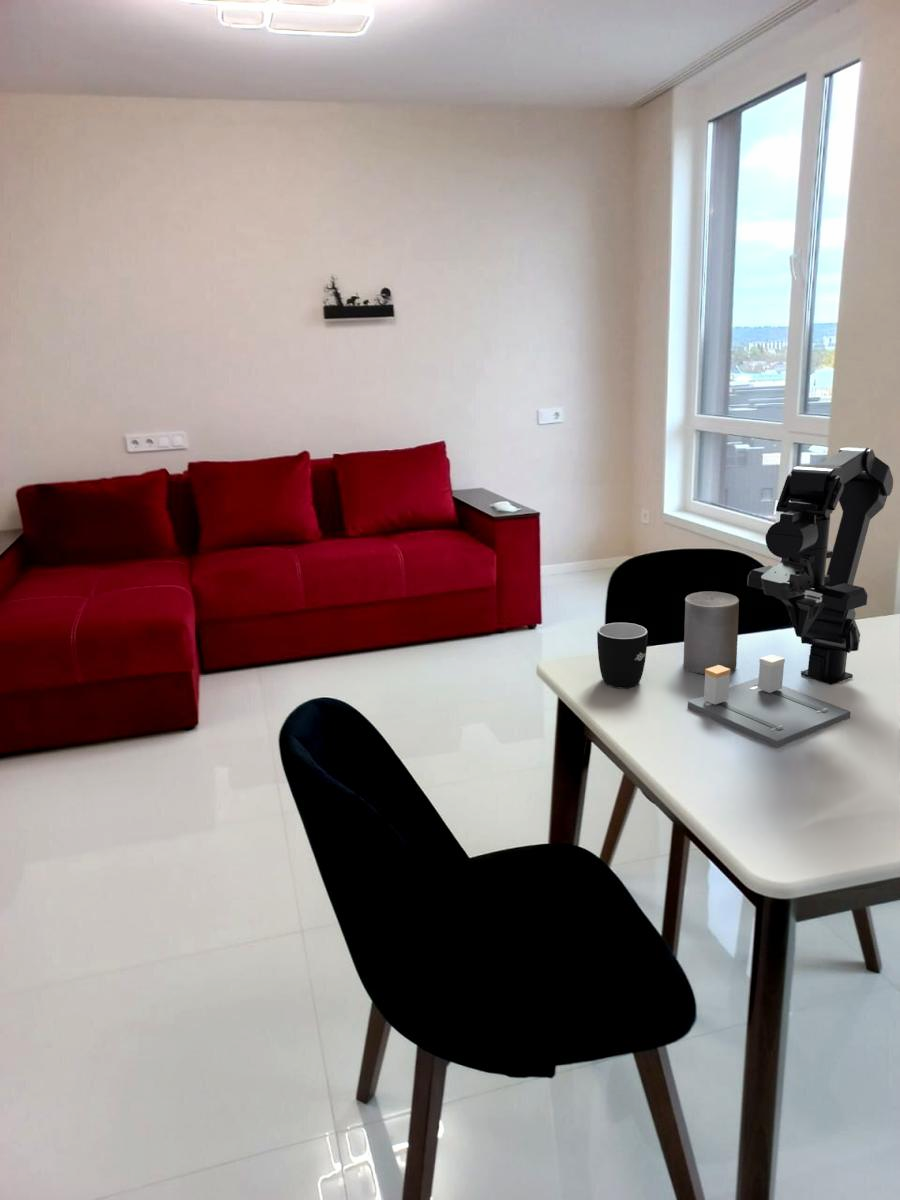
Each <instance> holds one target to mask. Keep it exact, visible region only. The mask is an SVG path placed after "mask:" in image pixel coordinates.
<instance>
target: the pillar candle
mask: <svg viewBox="0 0 900 1200" xmlns="http://www.w3.org/2000/svg"><path fill="white" fill-rule="evenodd" d="M684 602H685V603H684V631H683V632H684V634H683V635H684V636H683V643H684V644H683V667H684V668H685V669H686V670H687V671H688V672H691V673H694V674H695V673H696V674H702V675H705V669H707V668H711V667H714V666H717V665H721V666H723V667H726V668H729V669H731V672H730V674H731V673H733V672H734V671H736V668H737V662H738V661H737V658H738V637H739V636H738V635H739V634H738V633H739V632H738V631H739V613H740V612H739V611H740V610H739V609H740V608H739V606H740V605H739V603H740V599H739V598H738V597H737V596H736V595H733V594H731V593H727V592H723V591H722V592H721V591H709V590H708V591H698V592H693V593H692V592H691V593H690V594H688V595H686V597H685V598H684Z"/></svg>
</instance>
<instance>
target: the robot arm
mask: <svg viewBox="0 0 900 1200" xmlns="http://www.w3.org/2000/svg"><path fill="white" fill-rule="evenodd" d="M892 474H893V473H892V471H891V468H890V466H889V465H888V464H887V463H886V462H884V461H882V460H881V459H879V458H878V457H877V456H876V454H875V452H874V450H873V449H871V448H869V447H861V446H857V447H856V446H845V447H841V448H840V449H839V450H838V452H837V453H836V454H834V455H832V456H831V457H829V458H826V459H825V460H824V461H821V462H820V463H819V464H803V465H797V466H795V467H794V468H792V470H791V472H789V473H788V474H787V476H786V478H785V481H784V485H783V487H782V491H781V493H780V496H779V499H778V502H777V504H776V506H775V511H776V512H779V515H780V516H779V521H777V522H775V523H773V524H772V525H771V526H770V527H769V528H768V530H767V532H766V534H765V538H764V539H765V544H766V546H767V550H769V552H770V553H771V554H772V555H774V556H775V557H777V558H781V560H780V562H779V564H776V565H775V564H774V566H773V565H766V566H763V567H759V568H754V569H752V570H750V572H749V574H748V575H747V582H746V583H747V587H750V588H754V589H757V590H763V594H764V595H765V596H768V597H769V596H772V597H775V598H776V599H779V600H780V601H781V602H782V603H783V604H784V605H785V606H786V608H787V610H788V614H789V617H790V619H791V622H792V626H793V630H794V632H795V636H796V637H798V638H800V641H801V644H804V645H806V644H807V645H810V649H809V650H810V652H809V655H808V665H807V669H804V670H802V671H800V675H801V676H804V677H807V678H808V679H809V678H810V679H812V680H815V681H818V682H820V683H824V684H827V685H828V686H829V685H830V686H834V685H835V684H838V683H841V682H844V681H846V680H849V679H852V678H853V677H854V675H853V673H850V672H847V671H846V668H847V667H846V666H847V659H848V658H847V656H848V654H850V653H851V652H858V651H859V646H860V642H861V640H860V639H861V633H860V630H859V627H858V624H857V621H856V620H855V619H856V610H855V609H857V608H861V607H863V606H867V604H868V592H867V590H866V589H865V588H864V587H863V586H857V585H854V583H855V578H856V575H857V570H858V567H859V563H860V561H861V560H860V559H861V556H862V553H863V552H862V551H863V549H864V544H865V540H866V537H867V533H868V529H869V525H870V522H871V520H872V519H873V518H874V517H875V516H876V515H878V513H879V512H880V511H882V510H883V509H884V507H885V505H886V501H887V498H888V497H889V496H890V495H891V494H892V492H893V487H894V476H893V475H892ZM838 503H839V505H840V507H841V511H842V513H841V519H840V522H839V526H838V529H837V533H836V535H835V536H836V537H835V542H834V544H833V547H832V550H828V548H829V537H830V536H829V535H830V534H829V533H830V526H831V525H830V524H831V514H833V511H835V510H836V508H837V505H838ZM827 559H830V560H829V564H828V567H827ZM826 568H827V571H826Z"/></svg>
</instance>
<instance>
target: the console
mask: <svg viewBox="0 0 900 1200" xmlns="http://www.w3.org/2000/svg"><path fill="white" fill-rule="evenodd" d="M758 682H759V677H756V678H753V679H750V680H747V681H745V682H741V683H739V684H734V685H733V686H729V698H728V700H727V701H724V702H721V703H719V704H716V705H714V704H712V703H710V702H708V701H705V700H704V695H703V696H700V697H697V698H694V699H691V700H688V701H687V708H688V709H690V710H692V711H694V712H696V713H698V714H701V715H703V716H704V717H707V718H709V719H712V720H714V721H716V722H718V723H720V724H723V725H725V726H727V727H729V728H731V729H733V730H736V731H737V732H740V733H742V734H743V735H747V736H748V737H751V738H753V739H755V740H756V741H757V740H758V741H760V742H762V743H764V744H766V745H769V746H770V747H773V748H775V749H778V748H779V747H782V746H785V745H788V744H789V743H792V742H794V741H797V740H799V739H802V738H805V737H806V736H810V735H812V734H815V733H817V732H819V731H822V730H824V729H827V728H829V727H832V726H834V725H837V724H839V723H842V722H843V721H844V722H845V721H846V720H849V719H850V718H851V716H852V715H851V714H852V711H851V710H848V709H846V708H843V707H841V706H838V705H835V704H833V703H830V702H827V701H825V700H821V699H819V698H816V697H815V696H811V695H809V694H807V693H804V692H801V691H798V690H795V689H793V688H790V687H788V686H784V685H782V689H779V690H776V691H774V692H771V693H768V692H766V691H763V690H761V689H758Z"/></svg>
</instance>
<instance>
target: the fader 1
mask: <svg viewBox="0 0 900 1200" xmlns="http://www.w3.org/2000/svg"><path fill="white" fill-rule="evenodd" d="M730 672H731V669H729V668H726V667H723V666H721V665H717V666H714V667H711V668H707V669H705V674H704V691H703V692H704V695H703V696H704V700H705V701H708V702H710V703H712V704H714V705H716V704H719V703H721V702H724V701H727V700H728V698H729V687H730V677H731V673H732V672H731V673H730Z"/></svg>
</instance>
